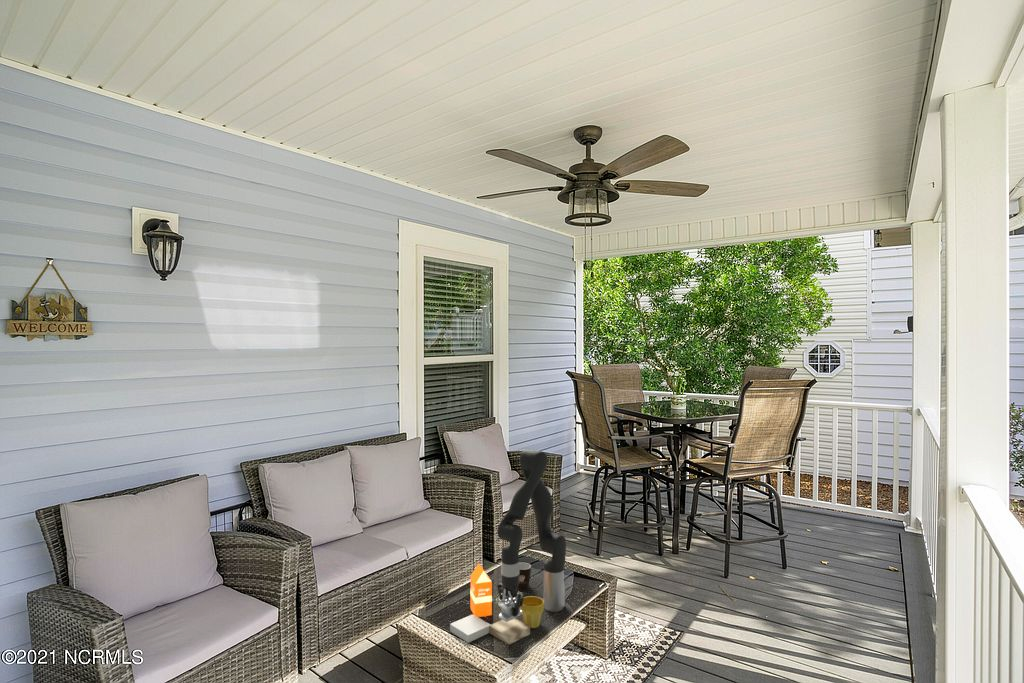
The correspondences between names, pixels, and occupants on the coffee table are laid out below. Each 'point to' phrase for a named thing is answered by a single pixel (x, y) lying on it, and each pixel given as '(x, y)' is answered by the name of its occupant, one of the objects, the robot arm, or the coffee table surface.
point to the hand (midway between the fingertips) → (510, 613)
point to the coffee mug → (524, 575)
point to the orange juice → (480, 593)
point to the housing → (508, 610)
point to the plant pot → (532, 610)
